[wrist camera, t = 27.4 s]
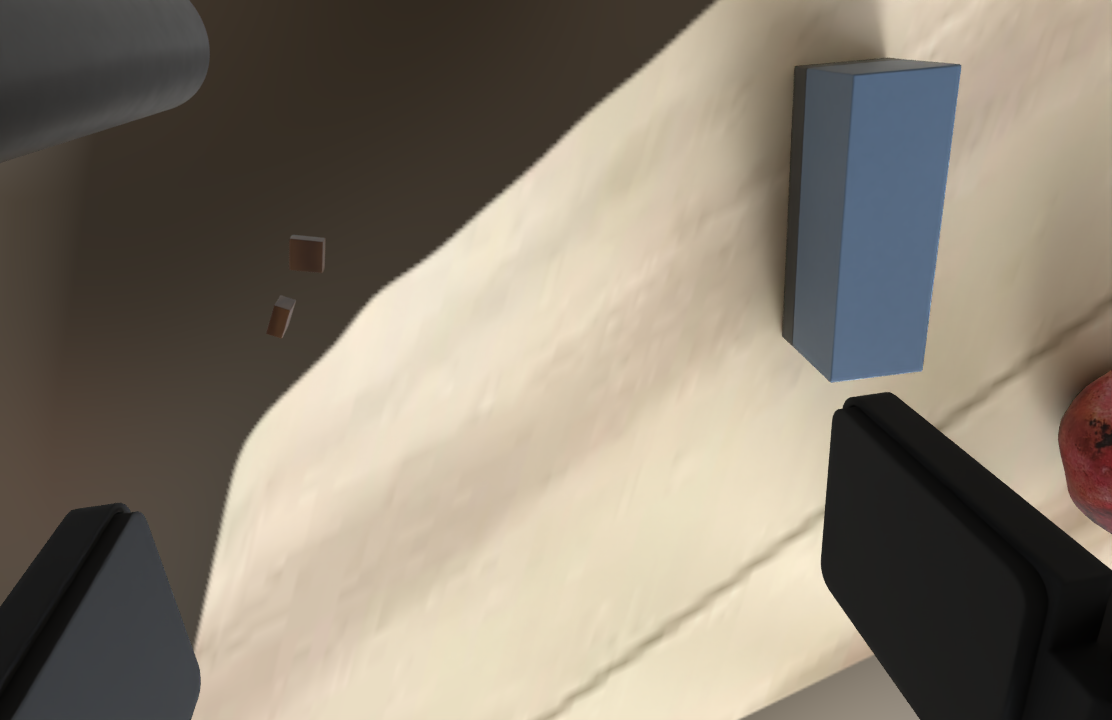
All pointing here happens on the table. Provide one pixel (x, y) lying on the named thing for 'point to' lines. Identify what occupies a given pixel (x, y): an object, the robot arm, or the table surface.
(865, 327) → the blue rectangular block
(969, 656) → the robot arm
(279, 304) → the chip
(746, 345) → the table surface
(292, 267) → the brown wooden block
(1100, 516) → the fruit
